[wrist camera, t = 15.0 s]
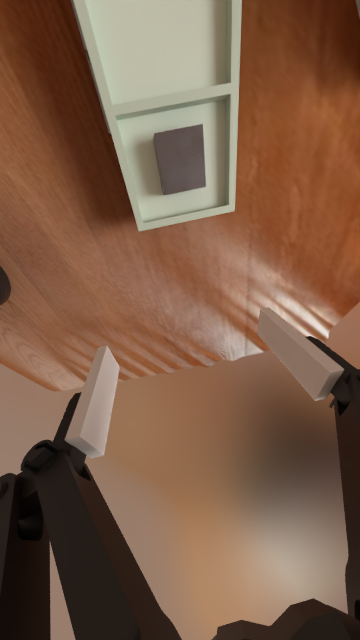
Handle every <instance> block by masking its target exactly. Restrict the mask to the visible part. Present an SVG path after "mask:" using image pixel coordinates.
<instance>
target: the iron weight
mask: <svg viewBox="0 0 360 640" xmlns="http://www.w3.org/2000/svg"><path fill="white" fill-rule="evenodd" d="M153 143H154V148H155V154H156V159H157V165H158V170H159V176H160V181H161V187H162V192H163V195H170V194H174V193H179V192H184V191H189V190H194V189H198V188H203V187H206V175H205V155H204V136H203V124H199V125H194V126H189V127H184V128H179V129H174V130H169V131H163V132H158V133H154V137H153Z"/></svg>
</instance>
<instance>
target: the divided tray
mask: <svg viewBox="0 0 360 640" xmlns="http://www.w3.org/2000/svg"><path fill="white" fill-rule="evenodd" d="M73 1H74V4H75V8H76V11H77V15H78V18H79V22H80V25H81V29H82V33H83V36H84V40H85V43H86V47H87V50H88V54H89V57H90V61H91V64H92V68H93V71H94V75H95V78H96V82H97V85H98V89H99V93H100V96H101V100H102V103H103V107H104V110H105V114H106V117H107V121H108V124H109V128H110V131H111V135H112V138H113V142H114V145H115V149H116V153H117V156H118V160H119V163H120V167H121V170H122V174H123V177H124V181H125V184H126V188H127V191H128V195H129V198H130V202H131V205H132V209H133V212H134V216H135V220H136V223H137V227H138V230H139V231H144V230H148V229H153V228H158V227H162V226H167V225H172V224H176V223H181V222H186V221H190V220H195V219H200V218H204V217H209V216H214V215H218V214H223V213H228V212H232V211H235V188H236V159H237V130H238V101H239V72H240V43H241V13H242V0H73ZM199 124H203V136H204V155H205V175H206V187H203V188H198V189H194V190H189V191H184V192H179V193H174V194H170V195H163V192H162V187H161V181H160V176H159V170H158V165H157V159H156V154H155V148H154V143H153V137H154V133H158V132H163V131H169V130H174V129H179V128H184V127H189V126H194V125H199Z"/></svg>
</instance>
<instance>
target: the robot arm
mask: <svg viewBox="0 0 360 640" xmlns="http://www.w3.org/2000/svg"><path fill="white" fill-rule="evenodd" d="M10 291H11V288H10V283H9V280H8V277H7V275H6V274H5V272H4V271H3V269H2V268H1V267H0V305H2V304H3V303H5V302H6V301H7V299H8V298H9V296H10ZM257 334H258V336H259V337H260V338H261V339H262V340H263V341H264V343H265V344H266V345H267V346H268V347H269V348H270V349H271V351H272V352H273V353H274V354H275V355H276V356H277V358H278V359H279V360H280V361H281V362H282V363H283V364H284V366H285V367H286V368H287V369H288V370H289V371H290V372H291V374H292V375H293V376H294V377H295V378H296V379H297V381H298V382H299V383H300V384H301V385H302V386H303V387H304V389H305V390H306V391H307V392H308V393H309V394H310V396H311V397H312V398H313V399H314V400H315V401H317V400H320V399H324V398H327V397H328V395H329V394H330V392H331V393H332V394H333V395H334V396H335V397H334V399H333V400H332V402H331V404H330V406H329V407H331V408H332V407H333V405H334V409H335V419H336V429H337V439H338V450H339V459H340V470H341V480H342V490H343V501H344V511H345V521H346V531H347V541H348V554H349V556H348V562H347V565H346V572H345V582H346V594H347V606H348V614H346V613H344V612H342V611H340V610H338V609H336V608H333V607H331V606H329V605H325V604H323V603H321V602H320V601H318V600H316V599H310V600H307V601H303V602H300V603H297V604H293V605H290V606H289V607H288V608H287V609H286V611H285V612H284V613H283V614H282V615H281V616H280V617H279V618H278V619H277V620H276V621H275V622H274V623H273V624H272V625H271V626H265V625H261V624H256V623H252V622H248V621H244V620H240V621H236V622H233V623H230V624H226V625H223V626H220V627H218V629H217V635H216V636H215V637H214V638H213V639H212V640H360V370H359V369H356V368H355V367H353V366H352V365H351V364H349V363H348V362H347V361H346V360H344V359H343V358H342V357H340V356H339V355H338V354H336V353H335V352H334V351H332V350H331V349H330V348H329V347H326V345H325V344H323V343H322V342H321V341H320V340H318V339H316V338H313V337H311V336H308V337H304V336H303V335H302V334H301V333H299V332H298V331H297V330H296V329H295V328H293V327H292V326H291V325H290V324H288V323H287V322H286V321H285V320H284V319H282V318H281V317H280V316H279V315H278V314H276V313H275V312H274V311H273V310H271V309H270V308H264V309H260V315H259V323H258V331H257ZM119 368H120V367H119V365H118V364H117V362H116V360H115V358H114V357H113V355H112V353H111V352H110V350H109V348H108V346H103V347H99V348H98V349H97V351H96V354H95V357H94V360H93V363H92V365H91V368H90V371H89V374H88V376H87V379H86V382H85V385H84V387H83V390H82V392H80V393H76V394H75V395H74V396H73V398H72V399H71V400H70V402H69V404H68V406H67V408H66V412H65V413H64V416H63V419H62V421H61V423H60V426H59V428H58V431H57V433H56V436H55V438H54V440H53V442H52V441H50V440H43V441H41V442H39V443H37V444H36V445H34V446H33V447H32V448H31V450H30V451H29V452H28V453H27V454H26V456H25V457H24V459H23V461H22V464H21V471H23V472H21V473H20V474H18V475H15V474H13V473H8V474H5V475H3V476H1V477H0V640H50V549H49V548H50V544H49V543H50V542H51V546H52V550H53V554H54V558H55V562H56V566H57V570H58V573H59V577H60V581H61V585H62V589H63V593H64V597H65V600H66V604H67V608H68V612H69V615H70V620H71V624H72V628H73V631H74V635H75V639H76V640H182V639H181V638H180V636H179V634H178V632H177V630H176V628H175V627H174V625H173V623H172V622H171V621H170V619H169V618H168V617H167V616H166V615H165V614H164V613H163V611H162V610H161V608H160V606H159V605H158V603H157V601H156V599H155V597H154V595H153V593H152V591H151V589H150V587H149V585H148V583H147V581H146V579H145V577H144V575H143V573H142V571H141V570H140V568H139V566H138V564H137V562H136V560H135V558H134V556H133V554H132V552H131V550H130V548H129V546H128V544H127V543H126V540H125V538H124V537H123V535H122V533H121V531H120V529H119V527H118V525H117V523H116V521H115V519H114V517H113V515H112V513H111V511H110V510H109V507H108V505H107V503H106V502H105V500H104V498H103V496H102V494H101V492H100V490H99V488H98V486H97V484H96V482H95V480H94V478H93V476H92V474H91V473H90V471H89V469H88V467H87V465H86V464H85V463H84V462H85V458H86V456H88V457H89V458H91V459H92V458H96V457H99V456H103V455H104V452H105V446H106V441H107V435H108V429H109V424H110V418H111V412H112V407H113V401H114V396H115V390H116V385H117V379H118V374H119Z"/></svg>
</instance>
